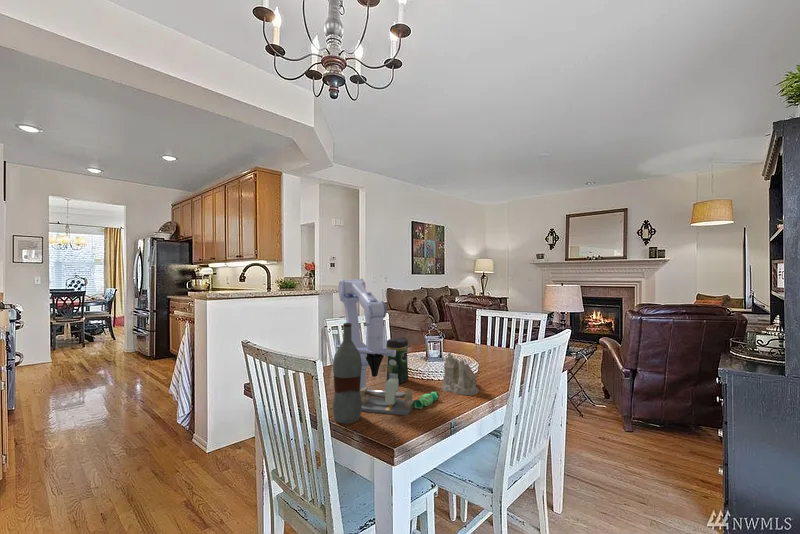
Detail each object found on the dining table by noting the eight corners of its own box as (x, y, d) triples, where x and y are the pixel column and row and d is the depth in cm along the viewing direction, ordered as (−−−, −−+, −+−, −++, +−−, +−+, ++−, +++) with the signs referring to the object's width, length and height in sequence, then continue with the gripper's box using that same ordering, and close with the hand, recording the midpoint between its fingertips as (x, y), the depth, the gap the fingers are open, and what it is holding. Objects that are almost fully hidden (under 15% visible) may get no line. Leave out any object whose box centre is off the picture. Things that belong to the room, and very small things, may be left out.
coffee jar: (395, 377, 167) (395, 335, 168) (410, 379, 163) (410, 336, 164) (383, 382, 159) (383, 338, 159) (399, 385, 155) (399, 340, 155)
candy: (423, 408, 126) (417, 397, 128) (416, 412, 128) (410, 401, 130) (441, 399, 136) (435, 388, 138) (434, 402, 138) (429, 392, 139)
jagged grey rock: (466, 397, 140) (466, 355, 141) (433, 388, 152) (434, 351, 154) (490, 391, 151) (491, 352, 152) (458, 383, 163) (458, 348, 164)
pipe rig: (355, 410, 126) (355, 393, 127) (366, 399, 138) (366, 383, 138) (407, 415, 122) (407, 398, 122) (415, 403, 134) (415, 387, 134)
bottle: (356, 425, 114) (357, 325, 115) (328, 423, 116) (328, 325, 116) (365, 414, 124) (365, 321, 124) (338, 412, 125) (338, 321, 126)
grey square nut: (385, 403, 127) (385, 383, 127) (390, 397, 133) (390, 378, 133) (393, 404, 126) (393, 383, 126) (398, 398, 132) (398, 378, 132)
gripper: (351, 337, 129) (351, 377, 129) (392, 339, 126) (392, 380, 126) (358, 334, 136) (358, 372, 136) (397, 336, 133) (397, 375, 133)
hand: (374, 375), depth 131 cm, fingers closed
